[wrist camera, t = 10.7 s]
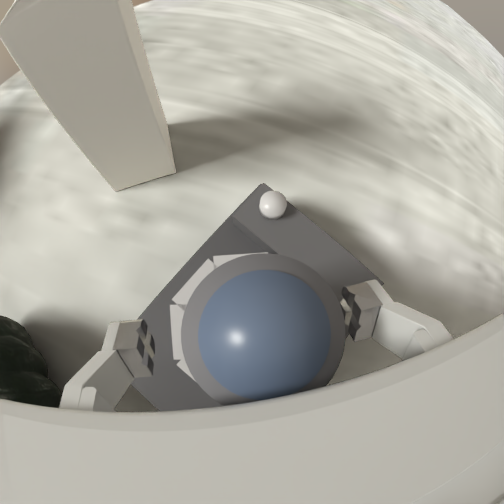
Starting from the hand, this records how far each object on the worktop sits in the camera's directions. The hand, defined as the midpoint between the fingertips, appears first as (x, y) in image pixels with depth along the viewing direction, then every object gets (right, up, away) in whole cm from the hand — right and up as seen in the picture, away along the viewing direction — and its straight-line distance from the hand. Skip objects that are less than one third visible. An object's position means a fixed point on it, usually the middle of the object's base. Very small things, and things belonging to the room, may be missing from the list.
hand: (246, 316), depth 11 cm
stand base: (0, -3, +10) cm, 10 cm away
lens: (0, -2, +6) cm, 6 cm away
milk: (-10, +11, +13) cm, 20 cm away
